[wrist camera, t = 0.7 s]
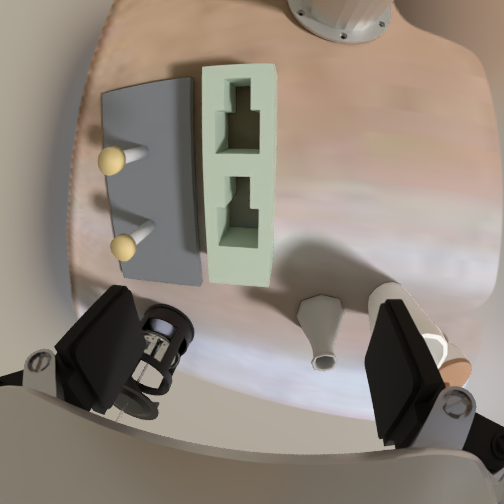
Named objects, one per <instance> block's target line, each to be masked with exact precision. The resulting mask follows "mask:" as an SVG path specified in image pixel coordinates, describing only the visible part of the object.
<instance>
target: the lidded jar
mask: <svg viewBox="0 0 504 504" xmlns="http://www.w3.org/2000/svg"><path fill="white" fill-rule="evenodd" d="M438 370H439V372H440V374H441V377H442V379H443V381H444V384H445V386H446V388H447V387H450V386H459V387H462V386H463V385H464V384H465V382H466V381H467V380H468V378H469V377H470V374H471V371H472V366H471V364H470V362H469V361H468V360H467V358H466V356H465V354H464V353H463V351H462V350H461V349H460V348H459V347H458V346H456V345H454V344H452V343H448V347H447V356H446V358H445V360H444V361H443V363H442V365H441V367H440V368H439V369H438Z"/></svg>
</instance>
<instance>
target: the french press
mask: <svg viewBox="0 0 504 504" xmlns="http://www.w3.org/2000/svg"><path fill="white" fill-rule="evenodd" d="M151 318H156V319H161V320H164V321H166V322H168V323H170V324H171V325H173V326H174V327H176V328H177V330H176V332H175V334H174V336H173V338H172V340H170V339H169V338H167V337H166V336H164V335H162V334H160V333H158V332H156V331H154V330H153V328H152V326H151V322H150V320H151ZM140 324H141V327H142V331H143V334H144V337H145V340H146V349H145V351H144V352H143V354H142V356H141V357H140V359H139V361H138V362H137V364H136V366H135V367H134V369H133V371H132V372H131V374H130V376H129V378H128V379H127V381H126V383H125V384H124V386H123V388H122V390H121V391H120V393H119V395H118V396H117V398H116V400H115V402H114V403H113V405H114V406H115V407H117V408H118V409H119V410H121V412H120V414H119V416H118V418H117V420H116V422H118V421H119V419H120V418H121V416H122V414H123V412H125V413H127V414H129V415H131V416H133V417H136V418H139V419H144V420H153V419H156V418H157V416H158V409H157V408H158V406H159V402H152V401H151V400H150V399H149V398H148V397H147V396H145V395H144V394H143V393H146V394H150V395H164V394H166V393H167V392H168V391H169V389H170V386H171V384H172V375H173V373H174V371H175V369H176V366H177V365H178V364H179V361H180V357H181V356H182V355H183V354H184V353H185V352H186V350H187V348H188V346H189V344H190V343H191V341H192V340H193V338H194V327H193V325H192V323H191V321H190V320H189V318H188V317H187V316H186V315H185V314H183V313H182V312H181V311H179V310H178V309H176V308H174V307H172V306H169V305H164V304H157V305H153V306H151V307H149V308H148V309H147V310H146V312H145V314H144V317H143V318H142V320H141V321H140ZM140 360H142V361H144V362H146V363H147V364H146V366H145V367H144V369H143V371H142V373H141V375H140V376H139V378H138V380H137V381H136V380H134V379H133V378H132V374H133V372H134V371H135V369H136V367H137V365H138V364H139V362H140ZM149 364H150V365H151V366H153V367H154V368H155V369H157V370H158V371H159V372H160V373H161V374H162V375H163V377H164V378H163V380H162V382H161V384H160V386H159V388H158V389H157V388H151V387H148V386H145V385H143V384H141V383H139V382H140V380H141V378H142V376H143V374H144V372H145V370H146V369H147V367H148V365H149ZM167 386H168V387H167ZM142 392H143V393H142Z"/></svg>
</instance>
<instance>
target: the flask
mask: <svg viewBox="0 0 504 504" xmlns="http://www.w3.org/2000/svg"><path fill="white" fill-rule="evenodd" d="M296 316H297V319H298V321H299V323H300V325H301V327H302V329H303V331H304V333H305V335H306V336H307V338H308V340H309V341H310V343H311V346H312V349H313V356H314V358H313V359H312V362H311V364H312V366H313V368H314V370H319V371H327V370H331V369H334V367H335V365H336V364H337V359H336V356H335V354H334V346H335V340H336V337H337V334H338V331H339V328H340V325H341V322H342V319H343V316H344V311H343V308H342V305H341V302H340V299H337V298H333V297H328V296H324V295H319V296H316V297H312V298H309V299H306V300H303V301H302V302H301V305H300V307H299V310H298V312H297V315H296Z"/></svg>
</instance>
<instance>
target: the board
mask: <svg viewBox="0 0 504 504" xmlns="http://www.w3.org/2000/svg"><path fill="white" fill-rule="evenodd" d="M102 113H103V139H104V149H103V150H102V151H101V152H100V154H99V156H98V166H99V169H100V171H101V172H102V173H103V174H105V175H106V176H107V184H108V193H109V200H110V207H111V214H112V220H113V226H114V232H115V238H114V239H113V240H112V241H111V245H110V247H111V251H112V253H113V255H114V256H115V257H116V258H117V259H118V260H120V262H121V267H122V271H123V276H124V278H131V279H138V280H146V281H155V282H163V283H171V284H180V285H190V286H199V287H200V286H201V284H202V271H201V259H200V247H199V234H198V219H197V202H196V182H195V157H194V78H192V77H186V78H178V79H171V80H165V81H159V82H153V83H147V84H142V85H137V86H133V87H128V88H124V89H119V90H115V91H111V92H107V93H104V94H102Z"/></svg>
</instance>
